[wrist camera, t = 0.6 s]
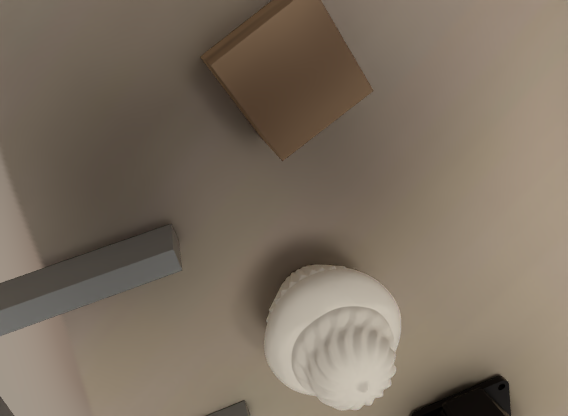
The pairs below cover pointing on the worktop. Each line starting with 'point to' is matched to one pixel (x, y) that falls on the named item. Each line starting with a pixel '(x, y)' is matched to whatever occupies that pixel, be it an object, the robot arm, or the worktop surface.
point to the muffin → (333, 335)
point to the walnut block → (288, 72)
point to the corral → (92, 285)
